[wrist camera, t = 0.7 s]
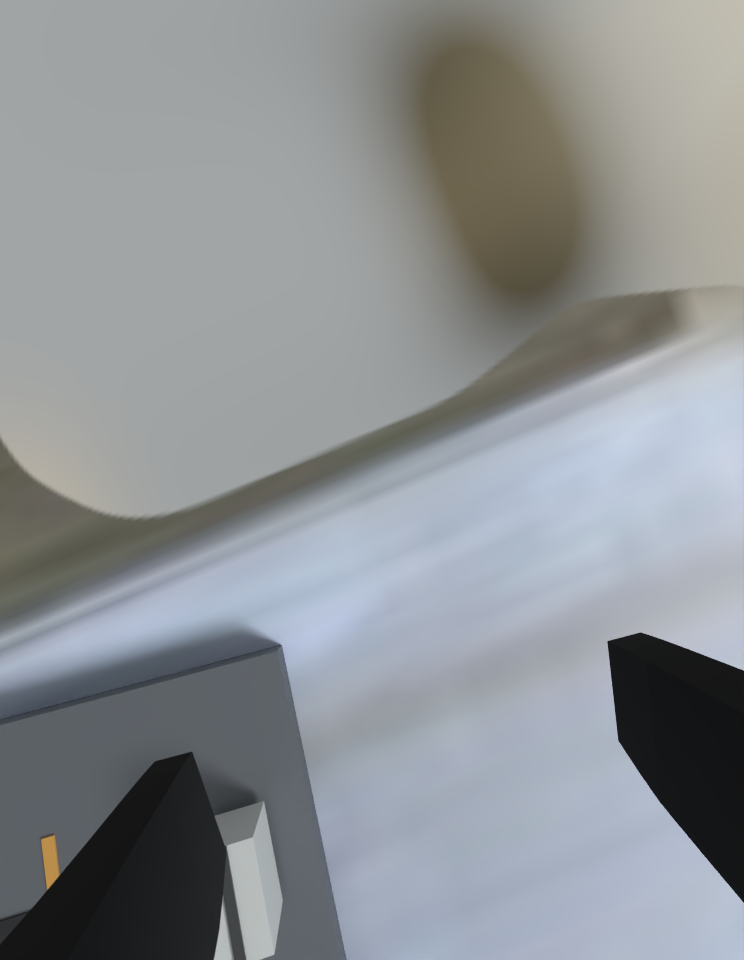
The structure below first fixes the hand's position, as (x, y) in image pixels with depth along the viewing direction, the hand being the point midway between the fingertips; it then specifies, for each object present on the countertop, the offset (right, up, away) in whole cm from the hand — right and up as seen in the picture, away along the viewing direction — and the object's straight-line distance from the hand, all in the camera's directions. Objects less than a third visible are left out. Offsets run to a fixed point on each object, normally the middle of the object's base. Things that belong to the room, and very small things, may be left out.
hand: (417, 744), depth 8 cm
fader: (-6, -12, +13) cm, 19 cm away
